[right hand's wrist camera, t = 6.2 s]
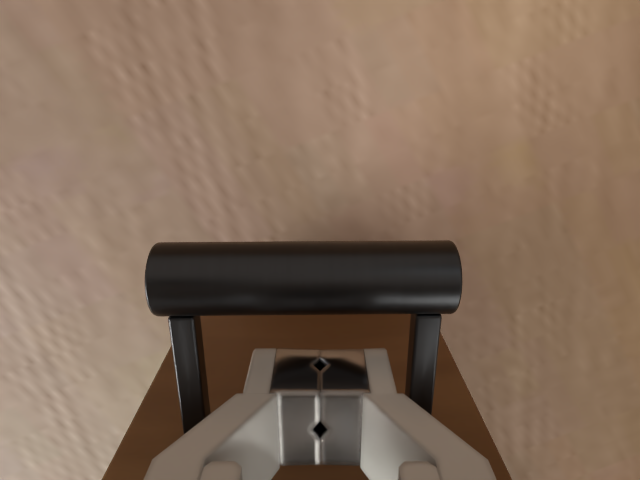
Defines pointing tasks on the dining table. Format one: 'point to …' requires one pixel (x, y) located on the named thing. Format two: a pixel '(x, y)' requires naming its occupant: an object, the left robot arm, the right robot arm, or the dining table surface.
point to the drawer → (298, 332)
